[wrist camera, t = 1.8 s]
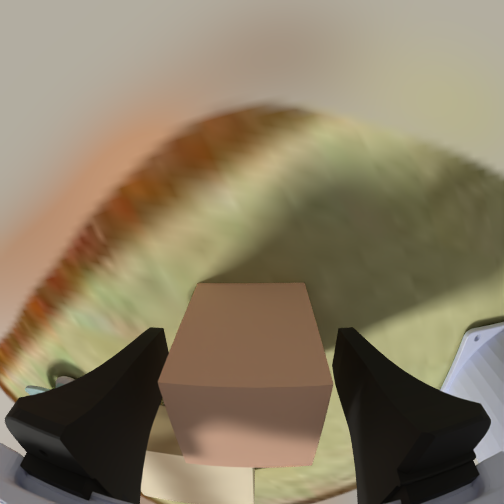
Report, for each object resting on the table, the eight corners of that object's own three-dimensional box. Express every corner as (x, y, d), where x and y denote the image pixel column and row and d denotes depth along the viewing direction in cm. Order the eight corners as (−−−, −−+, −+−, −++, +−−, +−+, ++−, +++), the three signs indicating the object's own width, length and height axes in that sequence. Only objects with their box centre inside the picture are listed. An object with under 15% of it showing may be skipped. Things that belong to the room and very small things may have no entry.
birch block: (253, 411, 15) (252, 460, 12) (254, 470, 18) (254, 507, 15) (123, 399, 15) (105, 441, 12) (154, 461, 18) (144, 495, 15)
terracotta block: (304, 282, 12) (333, 384, 7) (297, 363, 14) (312, 465, 8) (197, 282, 13) (157, 382, 7) (207, 362, 14) (186, 463, 8)
